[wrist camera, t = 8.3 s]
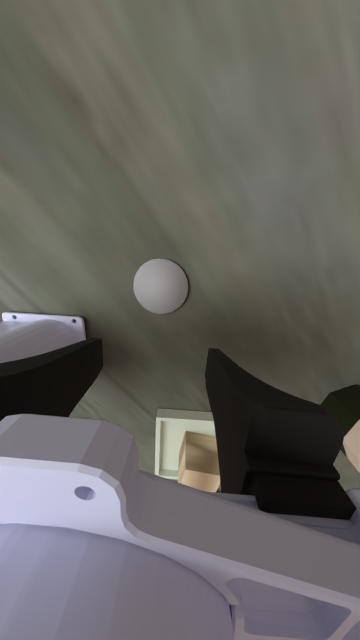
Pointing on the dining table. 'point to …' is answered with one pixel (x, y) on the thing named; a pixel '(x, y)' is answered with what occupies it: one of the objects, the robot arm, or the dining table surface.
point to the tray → (177, 436)
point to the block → (199, 462)
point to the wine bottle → (347, 419)
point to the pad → (160, 286)
